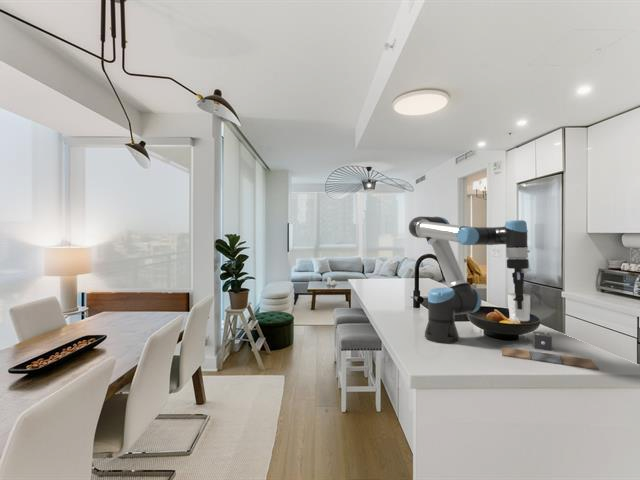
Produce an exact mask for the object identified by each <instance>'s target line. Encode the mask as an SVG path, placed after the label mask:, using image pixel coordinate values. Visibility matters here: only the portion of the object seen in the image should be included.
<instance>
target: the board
mask: <svg viewBox="0 0 640 480" xmlns="http://www.w3.org/2000/svg"><path fill="white" fill-rule="evenodd" d="M501 356H502V357H507V358H513V359H514V358H516V359H521V360H529V361H535V362H540V363H541V362H542V363H549V364H558V365H562V366H571V367H576V368H577V367H578V368H582V367H583V368H584V369H589V368H590V370H591V369H592V370H596V369H597V371H599V370H600V369H599V367H598V366H597V365H596V363H595V362H594V361H593V360H592V358H586V357H577V356H569V355H563V354H556V353H549V352H539V351H533V350H527V349H526V350H525V349H518V348H510V347H503V346H501Z"/></svg>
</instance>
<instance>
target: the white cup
mask: <svg viewBox="0 0 640 480" xmlns="http://www.w3.org/2000/svg"><path fill="white" fill-rule="evenodd" d="M506 296H507V306H508V307H507V308H508V312H509V320H512V321H517V322H528V321H531V319H530V318H531V317H530V316H531V315H530V314H531V294H528V293H523V298H524V299H523V302H524V318H519V317H516V306H515V301H514V300H513V299H515V297H516V295H515V292H514V293H513V292H511V293H507V295H506Z"/></svg>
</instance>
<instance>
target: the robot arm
mask: <svg viewBox="0 0 640 480" xmlns="http://www.w3.org/2000/svg"><path fill="white" fill-rule="evenodd" d="M408 231H409V233H410V234H411V236H412V237H415V238H419V239H426V241H427V244H429V245H430V246H431V247H432V249H433V252H434V255H435V257H436V259H437V263H438V265H439V267H440V270H441V271H442V275H443V278H444V280H445V283H446V285H447V286H446V287H434V288H432V289H430V290H429V291H428V295H427V296H428V297H427V301H428V302H427V305H428V307H427V309H428V322H427V324H426V327H425V329H424V338H425V337H426V338H427V339H426V338H425V339H426V340H428V339H429V340H428V341H430V340H431V342H434V341H435V342H434V343H443V344H453V343H457V342H459V341H460V335H459V332H458V329H457V326H456V322H455V321H456V320H455V318H456V317H455V316H457V315H469V314H473V313H476V312H477V311H479V310H480V308H481V305H482V301H483V300H482V296H481V293H480V292H479V291H478V290H477V289H475V288H473V287H472V286H471V283H470V282H469V281H466V280H465V278H464V277H465V276H464V275H463V272H462V270H461V267H460V265H459V263H458V260H457V257H456V256H455V254H454V251H453V248H452V246H451V243H450V242H454V243H459V244H461V245H463V246H481V245H482V246H486V245H487V246H495V245H496V246H497V245H505V255H506V256H505V257H506V258H507V259H506V268H507V269H511V270H512V269H514V272H511V275H512V276H511V277H512V282H513V285H514V293H515V295H516V297H515V299H513V300H514V301H515V306H516V317H519V318H524V302H523V299H524V298H523V294H524V288H523V285H524V278H525V273H524V272H522V270H526V269H529V267H530V266H529V265H530V264H529V263H530V262H529V259H527V258H529V253H531V251H530V250H529V249H528V248H529V247H528V232H529V231H528V227H527V222H526V220H521V219H520V220H519V219H518V220H509V221H505V224H504V226H497V227H496V226H493V227H491V226H489V227H487V226H484V227H481V226H480V227H478V226H475V227H474V226H465V225H458V224H457V225H456V224H451V223H450V222H449V220H447V218H445V217H442V216H417V217H414V218H412V219H411V221H410V222H409V224H408Z"/></svg>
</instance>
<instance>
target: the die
mask: <svg viewBox="0 0 640 480" xmlns="http://www.w3.org/2000/svg"><path fill="white" fill-rule="evenodd" d="M552 338H553V336H552V335H551V333H550V332H543V331H535V330H534V331H532V345H533V347H534V348H533V349H534V350H535V349H536V350H541V351H551V352H552V351H553V344H552V343H553V342H552V340H553V339H552Z"/></svg>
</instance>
